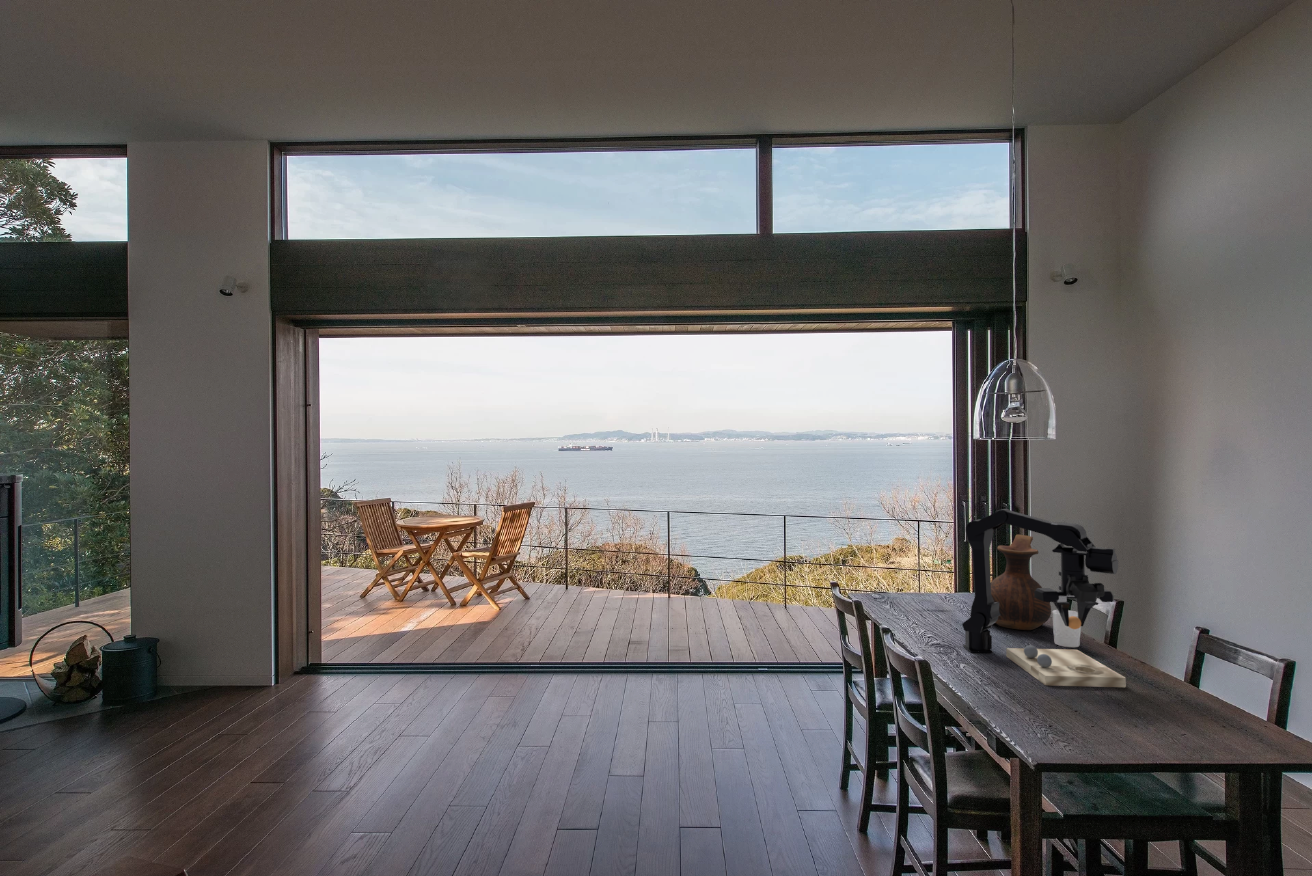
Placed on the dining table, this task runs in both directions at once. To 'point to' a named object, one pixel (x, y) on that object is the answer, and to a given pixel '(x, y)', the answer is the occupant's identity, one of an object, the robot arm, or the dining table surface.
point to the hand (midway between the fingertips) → (1074, 626)
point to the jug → (1019, 589)
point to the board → (1067, 668)
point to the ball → (1074, 622)
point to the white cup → (1065, 631)
